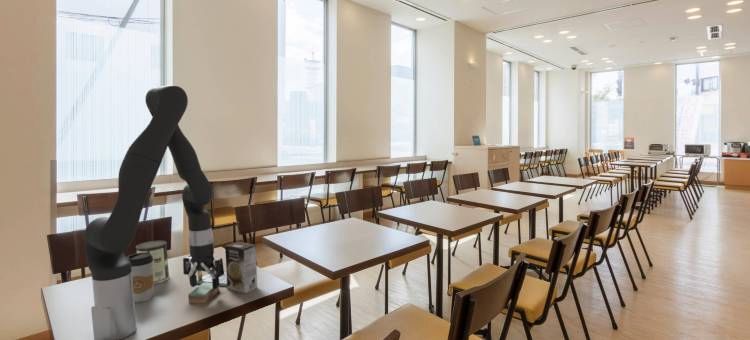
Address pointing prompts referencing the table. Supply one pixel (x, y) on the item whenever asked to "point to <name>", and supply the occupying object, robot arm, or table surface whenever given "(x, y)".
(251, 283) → the coffee box
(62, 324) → the table surface
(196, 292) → the mint green block
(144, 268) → the coffee cup
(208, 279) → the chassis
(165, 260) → the coffee can
